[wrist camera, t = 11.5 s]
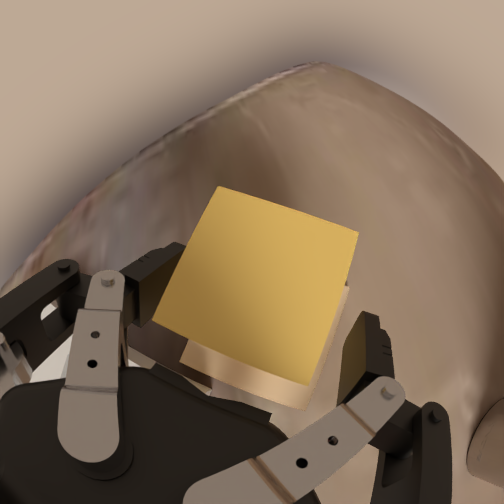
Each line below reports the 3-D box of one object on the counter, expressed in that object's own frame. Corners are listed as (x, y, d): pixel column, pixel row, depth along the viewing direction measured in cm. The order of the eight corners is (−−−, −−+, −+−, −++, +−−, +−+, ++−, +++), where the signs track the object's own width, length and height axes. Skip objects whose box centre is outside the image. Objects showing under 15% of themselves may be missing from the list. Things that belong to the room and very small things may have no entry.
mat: (347, 288, 21) (349, 287, 20) (304, 409, 18) (304, 411, 17) (231, 247, 23) (230, 245, 22) (181, 361, 20) (179, 361, 19)
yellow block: (301, 311, 20) (358, 232, 7) (281, 362, 19) (308, 386, 6) (251, 293, 21) (218, 186, 7) (230, 342, 19) (151, 320, 6)
